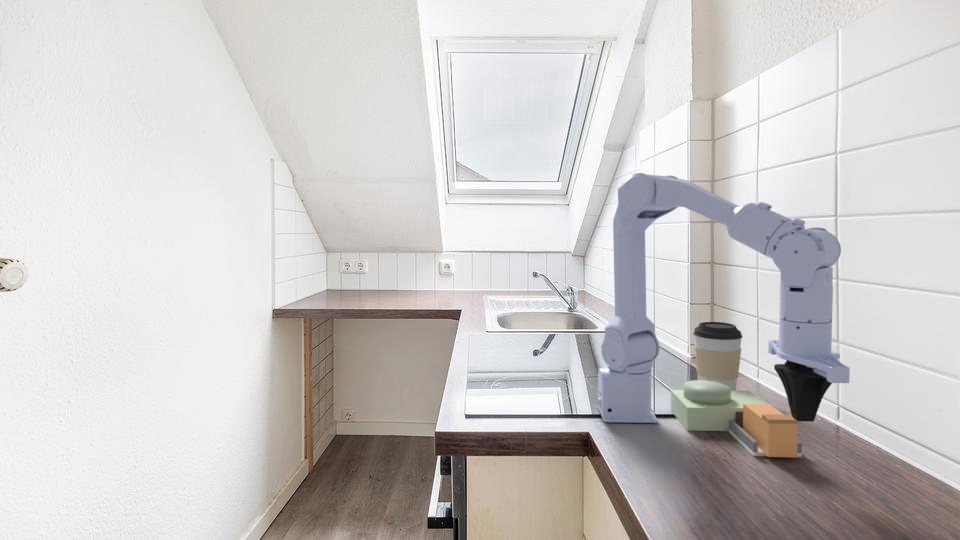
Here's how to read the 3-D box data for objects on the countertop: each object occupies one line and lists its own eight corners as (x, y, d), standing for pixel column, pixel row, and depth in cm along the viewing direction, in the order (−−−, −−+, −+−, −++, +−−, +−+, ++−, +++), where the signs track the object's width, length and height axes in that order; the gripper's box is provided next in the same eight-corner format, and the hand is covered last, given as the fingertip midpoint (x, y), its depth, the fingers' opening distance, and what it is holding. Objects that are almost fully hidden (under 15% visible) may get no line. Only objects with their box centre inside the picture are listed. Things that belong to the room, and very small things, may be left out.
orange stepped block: (768, 456, 68) (768, 419, 67) (742, 433, 76) (743, 400, 75) (797, 457, 67) (798, 420, 67) (768, 434, 75) (769, 400, 75)
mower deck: (707, 455, 70) (707, 416, 70) (670, 410, 88) (671, 379, 87) (805, 457, 68) (806, 417, 68) (748, 411, 86) (749, 380, 86)
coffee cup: (730, 387, 100) (730, 318, 99) (750, 402, 91) (751, 327, 90) (686, 387, 101) (687, 319, 100) (702, 401, 92) (702, 327, 91)
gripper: (878, 330, 54) (875, 443, 55) (804, 310, 68) (802, 400, 69) (814, 330, 54) (811, 442, 55) (754, 311, 69) (753, 400, 70)
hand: (803, 419), depth 62 cm, fingers closed
